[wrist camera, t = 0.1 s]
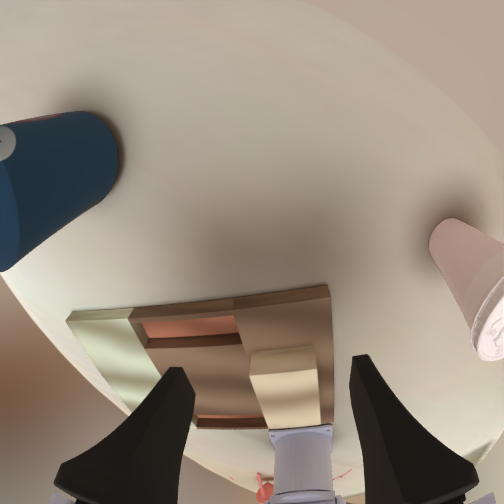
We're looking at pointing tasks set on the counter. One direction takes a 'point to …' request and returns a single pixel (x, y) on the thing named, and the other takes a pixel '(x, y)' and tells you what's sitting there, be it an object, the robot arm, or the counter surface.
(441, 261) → the smoothie
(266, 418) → the block
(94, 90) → the counter surface
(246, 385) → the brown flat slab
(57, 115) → the soda can
